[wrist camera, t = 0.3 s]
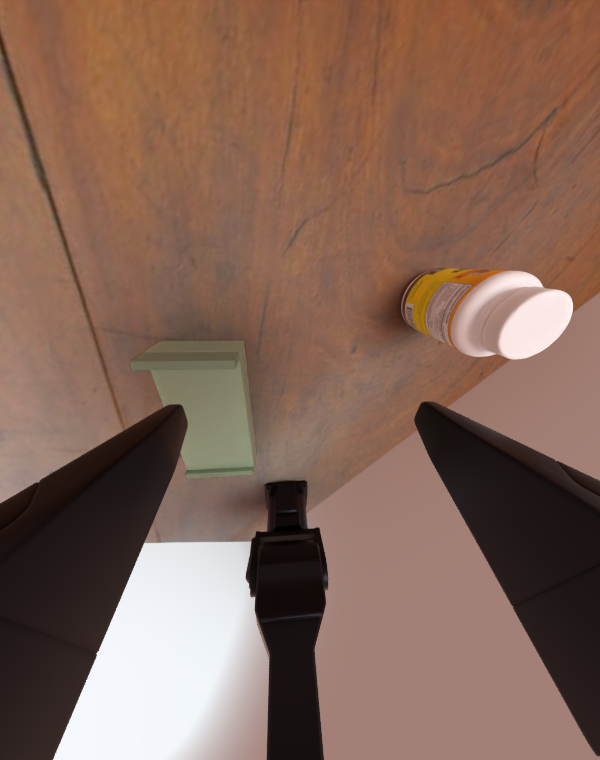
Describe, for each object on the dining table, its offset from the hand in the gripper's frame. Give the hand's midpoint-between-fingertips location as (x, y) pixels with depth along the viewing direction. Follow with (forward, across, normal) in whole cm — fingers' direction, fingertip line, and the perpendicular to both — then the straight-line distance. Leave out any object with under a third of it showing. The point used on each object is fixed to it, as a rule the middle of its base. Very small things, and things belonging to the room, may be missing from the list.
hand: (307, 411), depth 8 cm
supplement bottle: (+15, -13, -2) cm, 20 cm away
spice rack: (+14, +8, +11) cm, 20 cm away
